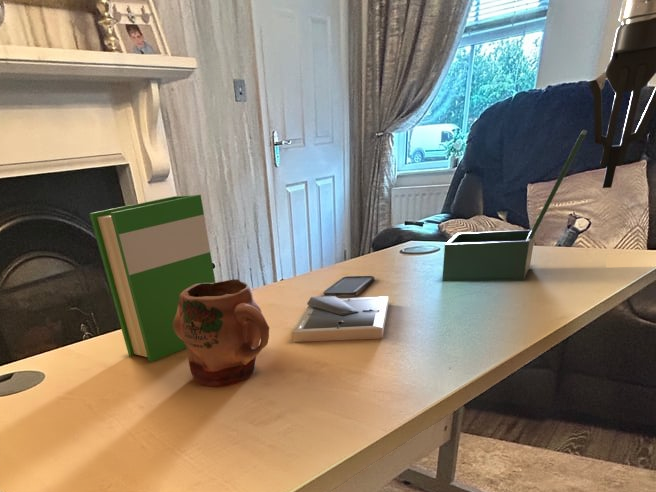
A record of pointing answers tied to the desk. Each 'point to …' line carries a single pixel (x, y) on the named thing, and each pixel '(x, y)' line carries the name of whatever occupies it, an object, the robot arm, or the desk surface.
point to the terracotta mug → (221, 331)
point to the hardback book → (153, 267)
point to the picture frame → (342, 319)
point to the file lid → (558, 183)
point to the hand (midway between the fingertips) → (606, 186)
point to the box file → (488, 256)
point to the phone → (349, 286)
